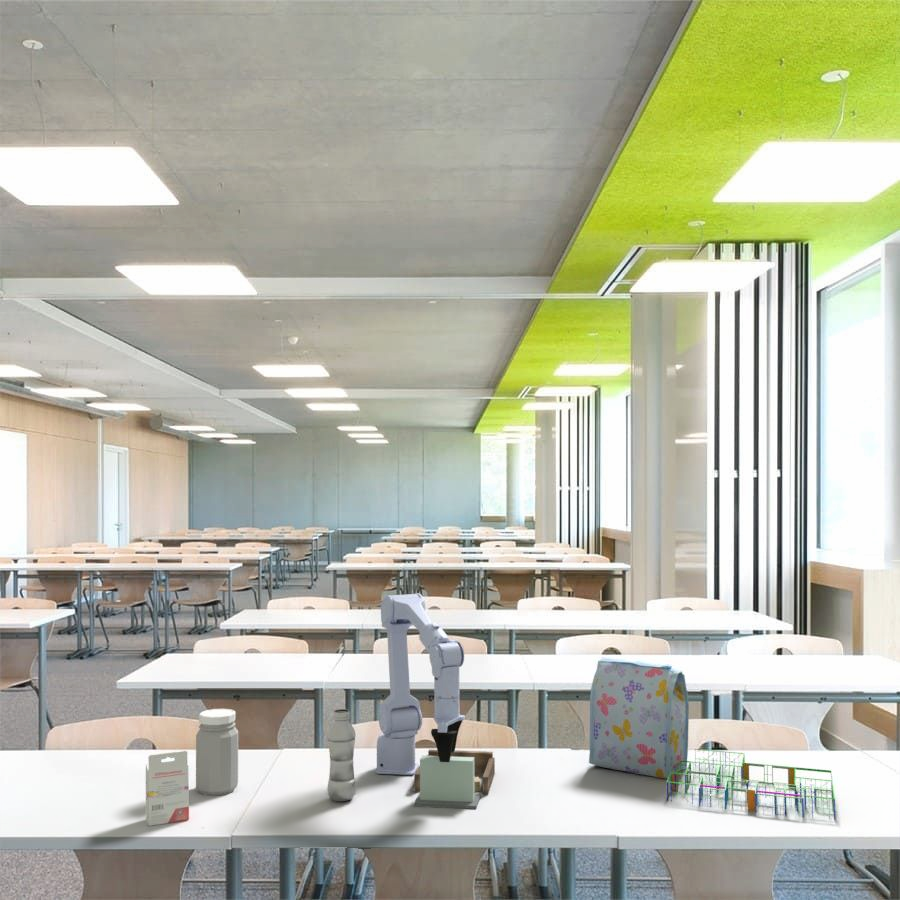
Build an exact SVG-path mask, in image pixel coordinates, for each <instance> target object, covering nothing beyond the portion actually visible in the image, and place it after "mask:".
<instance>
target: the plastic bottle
mask: <svg viewBox="0 0 900 900" xmlns="http://www.w3.org/2000/svg"><path fill="white" fill-rule="evenodd" d="M332 719H333V723H332V724H331V726H330V728H329V730H328V732H327V742H328V743H327V744H328V749H329V750H328V752H329V774H328V776H329V777H328V781H327V795H328V797H329V798H330V800H332V801H336V802H346V801H349V800H352V799H354V798H355V797H354V796H355V795H356V790H357V785H356V784H357V783H356V779H355V778H356V777H355V769H354V768H355V767H354V752H355V751H354V750H355V742H356V729H355V728H354V726H353V725H352V724H351V722H350V719H351V716H350V709H347V708H339V709H334V710H333V718H332Z"/></svg>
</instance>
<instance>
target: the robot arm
mask: <svg viewBox="0 0 900 900" xmlns="http://www.w3.org/2000/svg"><path fill="white" fill-rule="evenodd" d="M380 620H381V626H382V628H384V629H386V634H387V636H386V637H387V652H388V656H387V657H388V671H389V673H388V675H389V676H388V677H389V693H390V694H388V696H387V697H386V698H385V699H383V701H382V702H380V704H379V705H380V706H379V715H378V725H379V728H380V730H381V733H380V734H378V736H377V741H376V771H375V773H376V774H378V775H380V774H381V775H405V776H410V775H411V776H414V774H415V773H416V771H417V769H418V768H419V766H420V763H416V735H418V732H419V731H420V730H421V728H422V725H423V715H422V711H421V707H420V701H419V699H417V698H416V697H414V696H413V695H411V687H410V686H411V685H410V669H409V653H408V634H407V632H408V630H409V629H410V627H411V626H412V627H413V626H414V627H415V629H416V630H417V631H418V632H419V634H418V635H419V636H418V637H419V641H420V642H421V644H422V645H423V646H424V648H425V649H426V651H427V652H428V653H429V655H428V657H429V663H430V665H431V674H432V677H434V679H433V680H434V681H433V684H434V685H433V687H434V689H433V691H434V700H433V701H434V715H433V720H434V721H435V723H436V724H437V728H431V731H430V734H431V736H432V739H433V740H434V743H435V746H436V750H437V751H438V756H439V760H440V762H449V761H450V757H451V752H454V751H455V750H456V745H457V740H458V735H459V732H460V731H459V730H460V728H461V725H462V723H463V721H465V718H466V715H464V714H460V709H461V708H460V707H461V706H460V695H461V694H460V668H461V667H462V666H463V664H464V661H465V651H464V648H463V645H462V643H461V642H460V641H458V640H454V639H451V638H449V636H448V634H447V633H445V630H444V629H443V628H442V627H441V626H440V625H439V624H438V623H435V622H432V620H431V619H430V617H429V615H428V614H427V612H426V603H425V598H424V597H423V595H422V594H421V593H419V592H416V593H412V594H411V593H409V594H408V593H407V594H395V595H393V594H392V595H389V594H386V595H384V597H383V598H382V601H381V603H380Z"/></svg>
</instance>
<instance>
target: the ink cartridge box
mask: <svg viewBox="0 0 900 900" xmlns="http://www.w3.org/2000/svg"><path fill="white" fill-rule="evenodd" d="M167 758H169V759H174V760H170V761H162V760H165V759H167ZM189 771H190V769H189V765H188V751H186V750H183V751H182V750H181V751H174V752H172V751H171V752H165V753H157V754H150V755H149V756H148V764H147V763H146V764H145V821H146V823H147V826H157V825H164V824H165V825H166V824H170V823H177V822H182V821H188V820H190V814H189V813H190V801H189V800H190V799H189V798H190V793H189V792H190V790H189V789H190V788H189V787H190V786H189V785H190V784H189V782H190V781H189V779H190V778H189V775H190V774H189Z"/></svg>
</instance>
